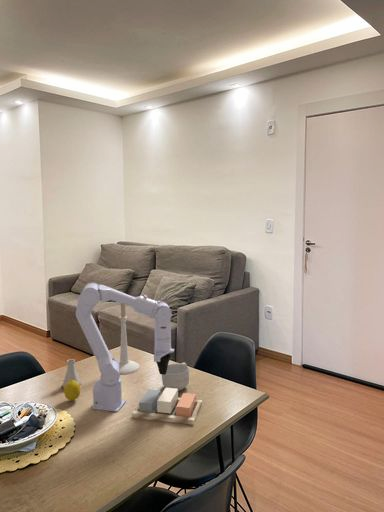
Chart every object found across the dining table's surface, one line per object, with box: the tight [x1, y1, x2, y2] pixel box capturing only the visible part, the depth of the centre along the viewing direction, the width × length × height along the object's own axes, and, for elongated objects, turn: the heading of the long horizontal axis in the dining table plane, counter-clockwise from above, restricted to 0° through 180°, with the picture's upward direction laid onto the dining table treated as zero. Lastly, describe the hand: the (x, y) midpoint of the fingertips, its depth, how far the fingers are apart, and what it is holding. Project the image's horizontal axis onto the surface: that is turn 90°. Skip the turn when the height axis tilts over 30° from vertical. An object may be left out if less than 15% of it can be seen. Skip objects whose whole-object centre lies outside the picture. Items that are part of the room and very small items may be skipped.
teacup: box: [161, 362, 190, 392], centre depth 159 cm, size 14×11×8 cm
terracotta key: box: [175, 392, 197, 417], centre depth 139 cm, size 4×10×4 cm, turn 167°
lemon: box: [64, 380, 81, 402], centre depth 147 cm, size 6×6×8 cm
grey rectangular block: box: [138, 388, 161, 413], centre depth 142 cm, size 4×10×4 cm, turn 167°
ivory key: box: [157, 387, 179, 414], centre depth 140 cm, size 4×10×4 cm, turn 167°
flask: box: [62, 358, 82, 389], centre depth 160 cm, size 7×7×10 cm
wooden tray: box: [131, 397, 203, 426], centre depth 141 cm, size 21×14×2 cm, turn 77°
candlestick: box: [117, 303, 140, 375], centre depth 175 cm, size 13×13×30 cm
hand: (163, 373), depth 146 cm, fingers closed
